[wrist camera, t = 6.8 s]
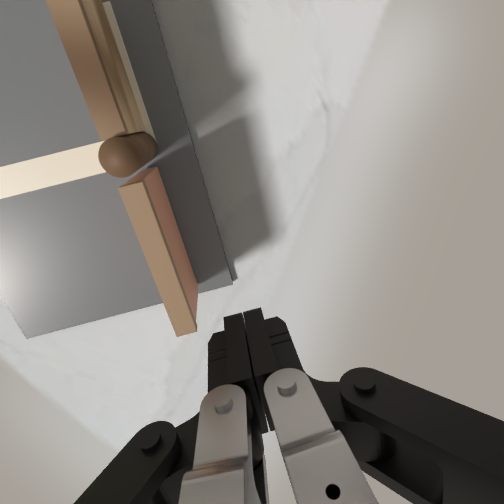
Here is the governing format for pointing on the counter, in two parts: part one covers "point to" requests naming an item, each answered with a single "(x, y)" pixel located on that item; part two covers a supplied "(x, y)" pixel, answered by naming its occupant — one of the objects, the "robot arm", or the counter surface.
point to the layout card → (87, 176)
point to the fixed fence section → (103, 85)
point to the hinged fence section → (162, 247)
